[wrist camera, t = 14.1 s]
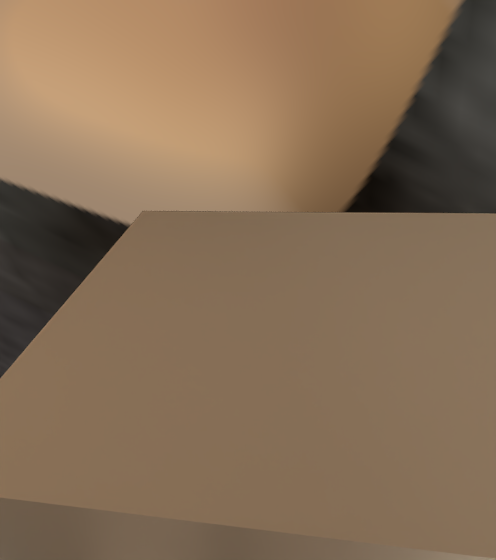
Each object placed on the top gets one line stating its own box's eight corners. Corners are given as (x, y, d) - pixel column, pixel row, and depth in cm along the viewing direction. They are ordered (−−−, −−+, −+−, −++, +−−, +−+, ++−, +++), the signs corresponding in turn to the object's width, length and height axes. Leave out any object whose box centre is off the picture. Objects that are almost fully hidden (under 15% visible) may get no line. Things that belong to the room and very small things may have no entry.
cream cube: (425, 439, 13) (508, 766, 7) (188, 419, 14) (104, 688, 8) (496, 213, 8) (839, 602, 3) (142, 211, 9) (-92, 486, 4)
